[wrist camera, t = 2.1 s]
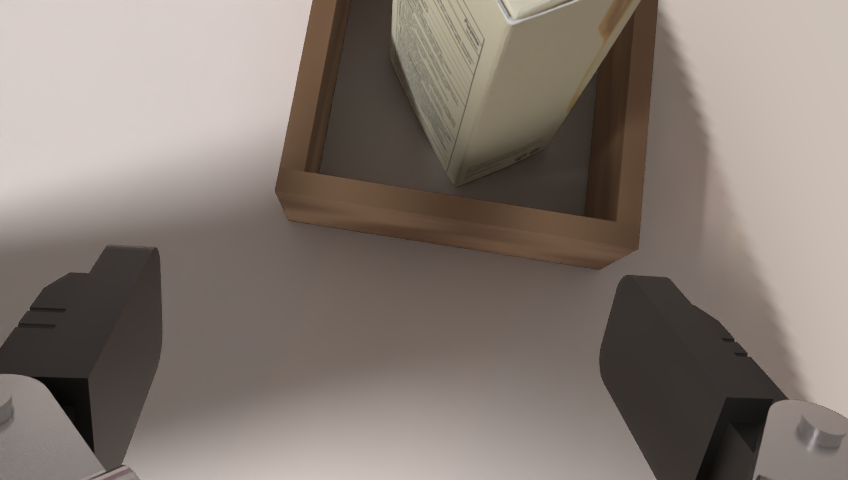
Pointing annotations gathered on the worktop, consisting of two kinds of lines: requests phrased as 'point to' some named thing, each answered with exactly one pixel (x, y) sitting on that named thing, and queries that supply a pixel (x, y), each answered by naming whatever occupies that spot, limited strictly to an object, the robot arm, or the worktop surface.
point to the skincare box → (498, 72)
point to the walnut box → (465, 217)
